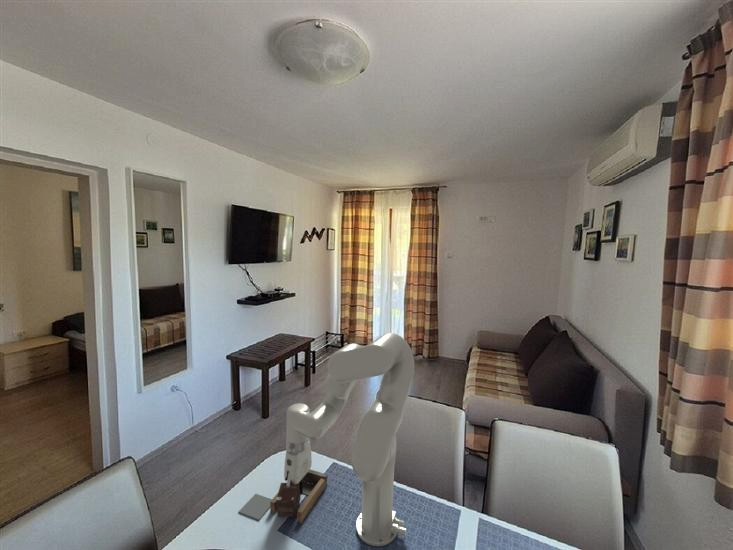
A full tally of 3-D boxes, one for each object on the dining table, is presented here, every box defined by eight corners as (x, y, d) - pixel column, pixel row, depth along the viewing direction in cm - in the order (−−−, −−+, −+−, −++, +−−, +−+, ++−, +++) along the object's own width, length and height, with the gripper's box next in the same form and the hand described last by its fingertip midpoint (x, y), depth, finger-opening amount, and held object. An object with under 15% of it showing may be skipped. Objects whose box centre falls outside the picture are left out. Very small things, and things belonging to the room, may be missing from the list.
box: (301, 497, 104) (299, 482, 101) (296, 517, 98) (294, 502, 95) (283, 496, 104) (280, 482, 101) (277, 516, 99) (275, 501, 96)
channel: (327, 484, 112) (327, 474, 112) (301, 523, 96) (301, 511, 96) (299, 476, 116) (299, 466, 116) (270, 511, 100) (270, 500, 100)
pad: (275, 501, 104) (275, 500, 104) (259, 520, 97) (259, 519, 97) (255, 494, 107) (255, 493, 107) (238, 512, 100) (238, 511, 100)
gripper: (294, 459, 95) (293, 515, 97) (319, 433, 109) (318, 482, 111) (274, 452, 98) (273, 507, 100) (300, 428, 112) (300, 476, 114)
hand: (297, 494), depth 105 cm, fingers closed
